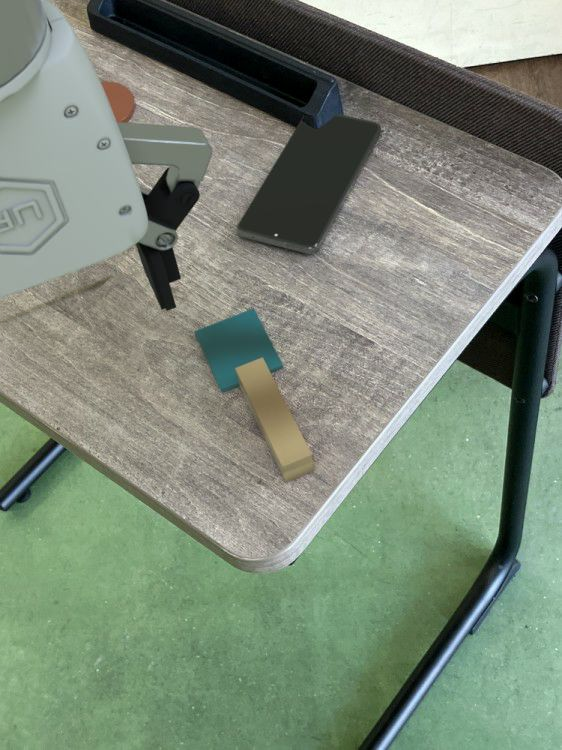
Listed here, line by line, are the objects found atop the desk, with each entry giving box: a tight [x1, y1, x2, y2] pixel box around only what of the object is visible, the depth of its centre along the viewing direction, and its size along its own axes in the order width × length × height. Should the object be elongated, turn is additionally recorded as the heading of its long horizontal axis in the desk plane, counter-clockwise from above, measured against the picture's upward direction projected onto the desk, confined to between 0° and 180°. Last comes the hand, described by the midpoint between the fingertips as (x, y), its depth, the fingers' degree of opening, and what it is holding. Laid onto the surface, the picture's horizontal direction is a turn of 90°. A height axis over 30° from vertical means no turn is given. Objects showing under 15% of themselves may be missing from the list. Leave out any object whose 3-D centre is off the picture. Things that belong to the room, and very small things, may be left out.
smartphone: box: [236, 112, 382, 255], centre depth 82 cm, size 7×1×16 cm
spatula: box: [194, 308, 315, 483], centre depth 70 cm, size 15×5×2 cm, turn 23°
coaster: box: [100, 80, 136, 123], centre depth 90 cm, size 7×7×1 cm
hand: (68, 324), depth 47 cm, fingers open, 9 cm apart
